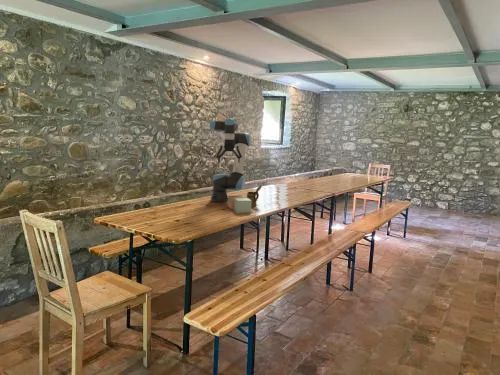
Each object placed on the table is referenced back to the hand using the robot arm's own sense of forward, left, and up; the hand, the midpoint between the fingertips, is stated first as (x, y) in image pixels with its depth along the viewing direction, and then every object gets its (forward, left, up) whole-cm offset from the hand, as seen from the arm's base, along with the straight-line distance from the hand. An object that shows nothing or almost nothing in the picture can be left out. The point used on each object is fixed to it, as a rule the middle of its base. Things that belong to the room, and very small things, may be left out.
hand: (228, 166), depth 290 cm
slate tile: (+15, +8, -32) cm, 36 cm away
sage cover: (+15, +8, -32) cm, 36 cm away
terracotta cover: (+2, +6, -32) cm, 33 cm away
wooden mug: (-4, +22, -33) cm, 40 cm away
